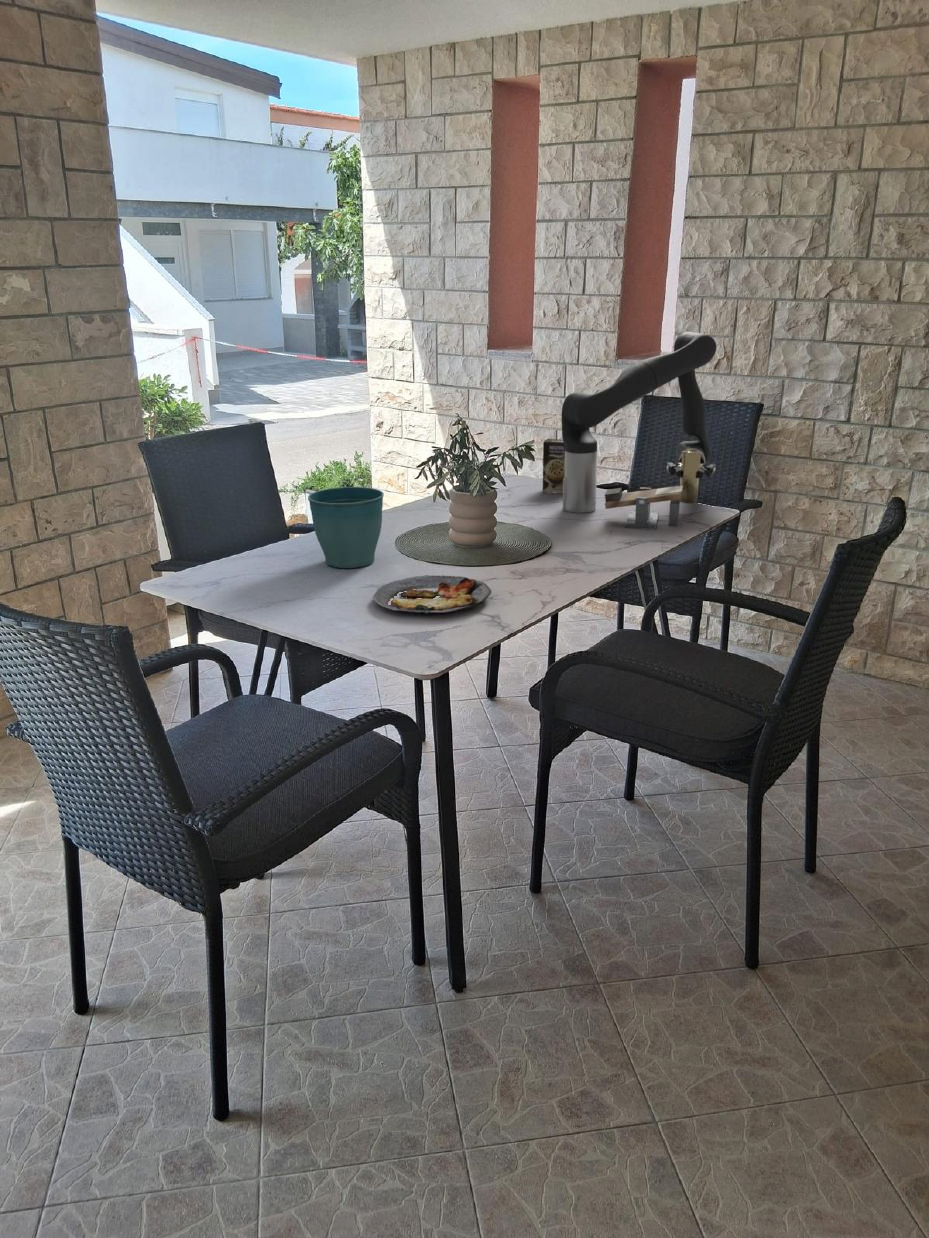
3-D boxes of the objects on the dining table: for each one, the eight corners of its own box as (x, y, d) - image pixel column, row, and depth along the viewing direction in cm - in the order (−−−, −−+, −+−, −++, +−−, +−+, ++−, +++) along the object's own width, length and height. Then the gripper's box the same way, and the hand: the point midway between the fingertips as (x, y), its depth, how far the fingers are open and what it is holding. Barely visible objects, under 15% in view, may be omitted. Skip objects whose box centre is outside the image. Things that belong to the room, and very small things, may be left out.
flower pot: (343, 548, 242) (338, 483, 236) (401, 557, 233) (398, 490, 227) (298, 567, 227) (292, 498, 221) (358, 577, 218) (353, 506, 212)
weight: (678, 503, 262) (682, 453, 257) (679, 498, 266) (682, 449, 261) (696, 503, 260) (700, 454, 255) (697, 499, 265) (701, 450, 260)
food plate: (499, 585, 210) (499, 570, 209) (478, 623, 189) (477, 607, 188) (393, 583, 216) (392, 568, 215) (361, 619, 195) (359, 603, 194)
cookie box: (541, 493, 294) (542, 441, 288) (546, 488, 300) (546, 438, 294) (570, 494, 291) (571, 442, 286) (574, 489, 297) (575, 439, 291)
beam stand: (625, 527, 253) (626, 498, 250) (630, 514, 266) (631, 486, 263) (676, 530, 250) (678, 500, 247) (679, 517, 263) (681, 488, 260)
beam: (605, 508, 255) (603, 496, 254) (609, 500, 264) (608, 488, 263) (682, 498, 249) (680, 486, 248) (683, 490, 258) (682, 478, 257)
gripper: (667, 449, 274) (664, 460, 259) (718, 450, 271) (717, 462, 256) (666, 474, 277) (662, 486, 262) (715, 476, 274) (715, 489, 258)
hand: (689, 474), depth 259 cm, fingers closed on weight, 5 cm apart
